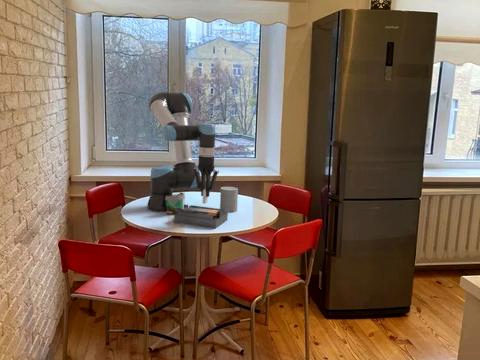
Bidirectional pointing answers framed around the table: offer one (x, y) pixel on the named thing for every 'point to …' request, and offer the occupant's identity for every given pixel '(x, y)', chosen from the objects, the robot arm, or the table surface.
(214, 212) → the beige and orange bar
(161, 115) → the robot arm
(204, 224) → the grey metal tray
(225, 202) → the concrete plant pot
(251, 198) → the table surface
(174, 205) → the food container
